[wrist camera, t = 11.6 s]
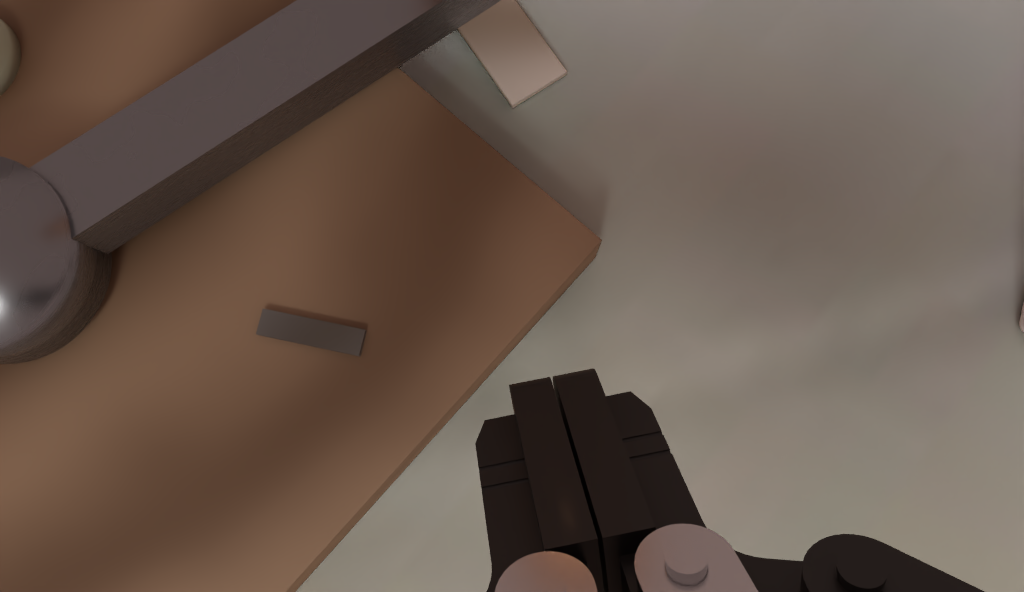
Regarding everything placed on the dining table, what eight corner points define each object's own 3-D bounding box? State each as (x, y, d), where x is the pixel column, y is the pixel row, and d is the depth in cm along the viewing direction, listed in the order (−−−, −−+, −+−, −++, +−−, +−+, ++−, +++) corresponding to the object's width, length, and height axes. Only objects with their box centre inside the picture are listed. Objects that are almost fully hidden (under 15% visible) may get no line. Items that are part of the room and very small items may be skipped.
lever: (-22, 402, 19) (-848, 354, 8) (-107, 247, 20) (-969, -6, 9) (586, 4, 21) (659, -527, 9) (486, -124, 22) (438, -757, 10)
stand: (-443, 317, 22) (-562, 303, 20) (205, -266, 26) (172, -340, 23) (40, 874, 19) (-30, 938, 17) (705, 134, 23) (727, 98, 20)
